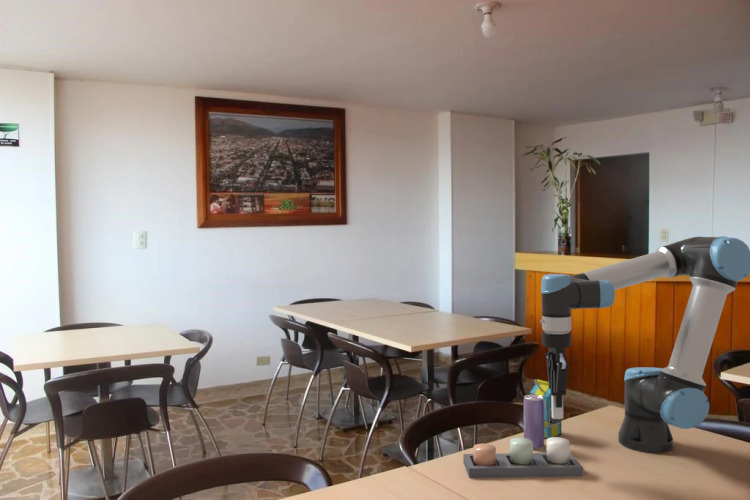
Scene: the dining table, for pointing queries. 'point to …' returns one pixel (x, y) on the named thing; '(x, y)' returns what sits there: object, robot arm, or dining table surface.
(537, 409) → the beverage can
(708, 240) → the robot arm
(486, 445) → the terracotta button
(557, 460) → the ivory button
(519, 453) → the sage button
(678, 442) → the dining table surface
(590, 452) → the dining table surface
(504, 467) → the dark grey flat tray
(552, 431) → the carton
